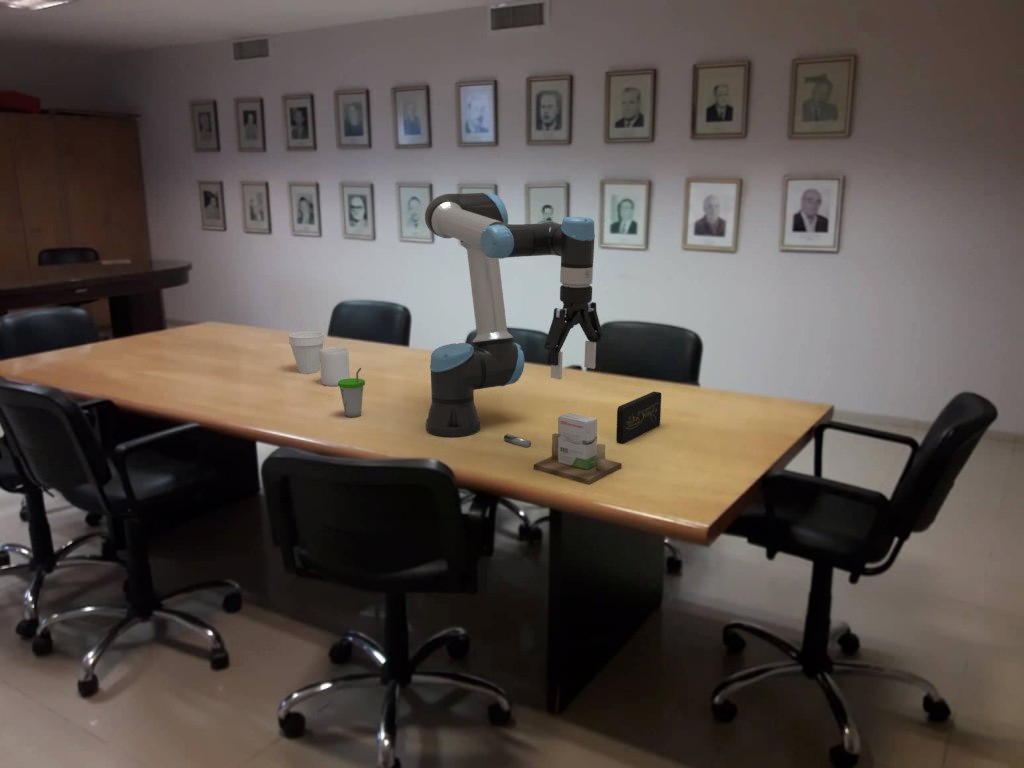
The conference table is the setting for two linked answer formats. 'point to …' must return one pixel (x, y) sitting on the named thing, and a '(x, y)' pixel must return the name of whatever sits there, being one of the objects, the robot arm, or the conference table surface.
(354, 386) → the cup
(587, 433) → the ink box
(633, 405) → the nameplate
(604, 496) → the conference table surface
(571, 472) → the rack
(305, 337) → the white flower pot
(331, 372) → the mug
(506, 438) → the pin
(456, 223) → the robot arm
